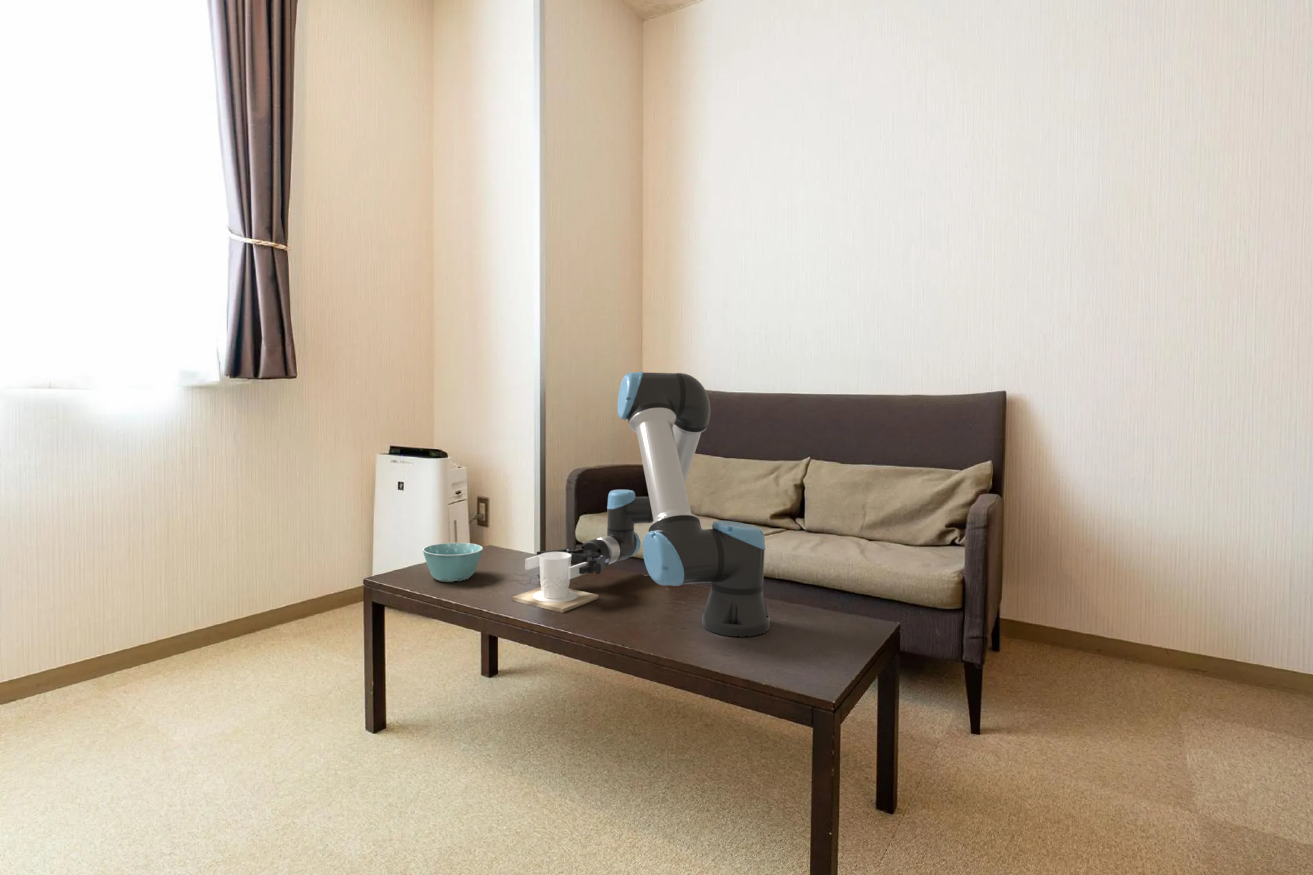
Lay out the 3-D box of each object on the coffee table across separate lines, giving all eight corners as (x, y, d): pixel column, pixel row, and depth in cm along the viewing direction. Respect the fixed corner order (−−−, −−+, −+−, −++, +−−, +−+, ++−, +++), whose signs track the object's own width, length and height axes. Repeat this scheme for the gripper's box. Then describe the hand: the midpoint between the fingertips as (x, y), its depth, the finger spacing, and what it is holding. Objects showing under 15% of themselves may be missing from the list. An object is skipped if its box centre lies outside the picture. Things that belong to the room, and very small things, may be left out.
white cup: (573, 591, 180) (574, 552, 179) (567, 600, 172) (567, 559, 171) (543, 589, 180) (543, 550, 180) (535, 598, 173) (535, 558, 172)
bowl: (450, 567, 204) (450, 539, 203) (494, 575, 197) (494, 545, 196) (409, 580, 190) (409, 550, 189) (455, 589, 183) (455, 557, 182)
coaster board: (598, 598, 178) (598, 594, 178) (562, 612, 166) (562, 608, 166) (549, 587, 186) (549, 583, 186) (511, 600, 174) (511, 596, 174)
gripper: (637, 573, 184) (587, 592, 166) (562, 559, 198) (509, 575, 180) (638, 545, 184) (588, 561, 166) (563, 532, 197) (509, 546, 179)
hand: (547, 568), depth 173 cm, fingers open, 13 cm apart
